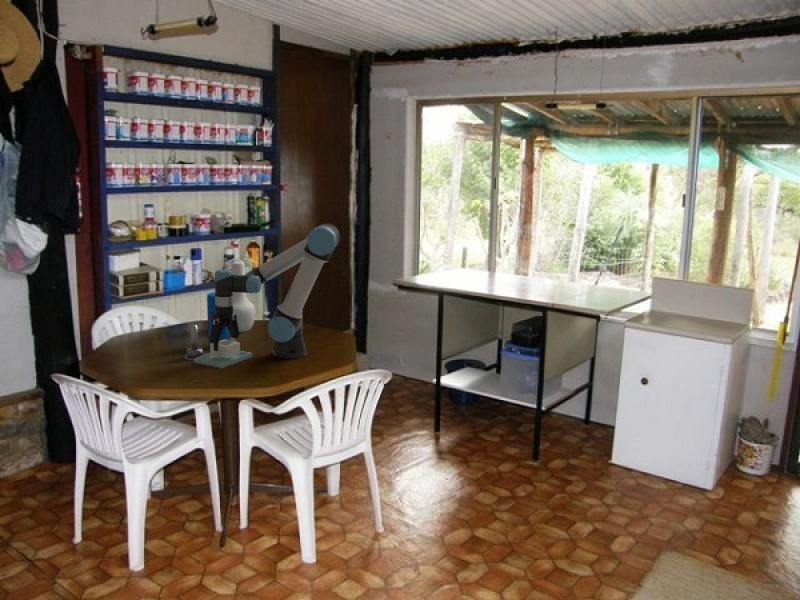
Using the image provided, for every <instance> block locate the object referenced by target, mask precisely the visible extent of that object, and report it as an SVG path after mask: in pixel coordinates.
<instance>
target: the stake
mask: <svg viewBox="0 0 800 600" xmlns="http://www.w3.org/2000/svg"><path fill="white" fill-rule="evenodd" d="M198 332H199V331H198V324H196V323H194V324H193V323H192V324H190V339H191V341H190V342H191V347H188V348H186V355H184V360H186V361H193V362H194V358H197V357H200V356H203V355H205V354H204V348H203V347H201V346H199V339H198V338H199V337H198V336H199V335H198V334H199V333H198Z"/></svg>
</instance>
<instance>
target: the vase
mask: <svg viewBox="0 0 800 600" xmlns="http://www.w3.org/2000/svg"><path fill="white" fill-rule="evenodd" d="M231 271H232V273H233V275H245V263H244V262H242V261H234V262H232V263H231ZM232 306H233V314H232V315H237V323H238V328H239V333H244V332H249V331H251V329H252V328H253V325H254V323H255V319H256V308H255V305H254V304H253V303H252V302H251V301H250V300H249V299H248V296H247V293H240V292H233V305H232Z"/></svg>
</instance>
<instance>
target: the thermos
mask: <svg viewBox="0 0 800 600" xmlns="http://www.w3.org/2000/svg"><path fill="white" fill-rule="evenodd" d="M206 296H207V297H206V301H207V302H206V303H207V304H206V305H207V309H206V310H207V311H206V312H207V334H208V335H207V337H208V338H207V339H208V347H209V348H210V344H212V343H210V336H211V329H212V320H216V319H217V315H216V312H215V306H216V304H215V291H214V292H209V293H207V295H206ZM230 338H232V337H231V335H230V333H229V331H228V328H227V326H225V327H224V329H223V331H222V334H221V337H220V340H219V341H221V340H230ZM216 341H217V340H216Z"/></svg>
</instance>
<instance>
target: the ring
mask: <svg viewBox="0 0 800 600" xmlns="http://www.w3.org/2000/svg"><path fill="white" fill-rule="evenodd" d="M219 343H220V356H221V357H223V358H228V357H231V356H234V355H237V354H239V353H240V351H241V342H239V341H236V342H235V341H230V340H221V341H219ZM209 348H210V351H209V353H210V355H213V356H215V354H214V344H213V343H212V344H210V347H209Z"/></svg>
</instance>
